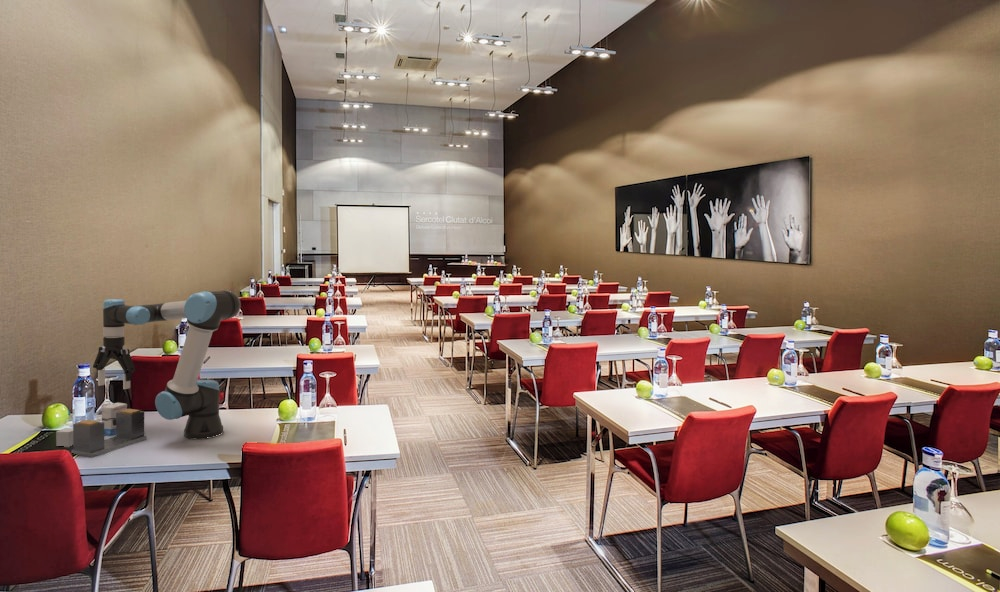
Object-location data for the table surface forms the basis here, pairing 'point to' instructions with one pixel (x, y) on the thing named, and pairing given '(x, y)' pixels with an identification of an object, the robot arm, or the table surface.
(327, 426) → the table surface
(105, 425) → the ink box
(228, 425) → the table surface
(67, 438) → the block
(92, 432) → the grey block holder
